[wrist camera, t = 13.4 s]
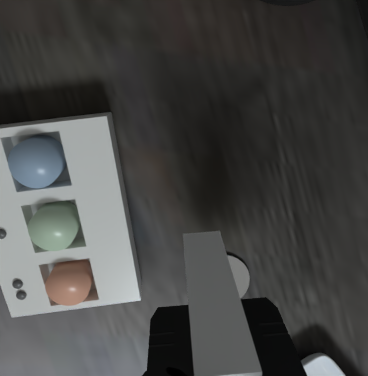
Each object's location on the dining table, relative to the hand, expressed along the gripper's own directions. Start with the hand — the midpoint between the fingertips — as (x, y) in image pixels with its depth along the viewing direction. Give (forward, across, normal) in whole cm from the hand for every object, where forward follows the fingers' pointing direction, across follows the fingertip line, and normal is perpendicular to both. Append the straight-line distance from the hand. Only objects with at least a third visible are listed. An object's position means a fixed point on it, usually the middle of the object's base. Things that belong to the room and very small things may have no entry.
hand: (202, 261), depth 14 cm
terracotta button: (+20, -13, -13) cm, 27 cm away
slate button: (+20, -14, 0) cm, 24 cm away
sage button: (+20, -13, -7) cm, 25 cm away
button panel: (+21, -13, -7) cm, 26 cm away
